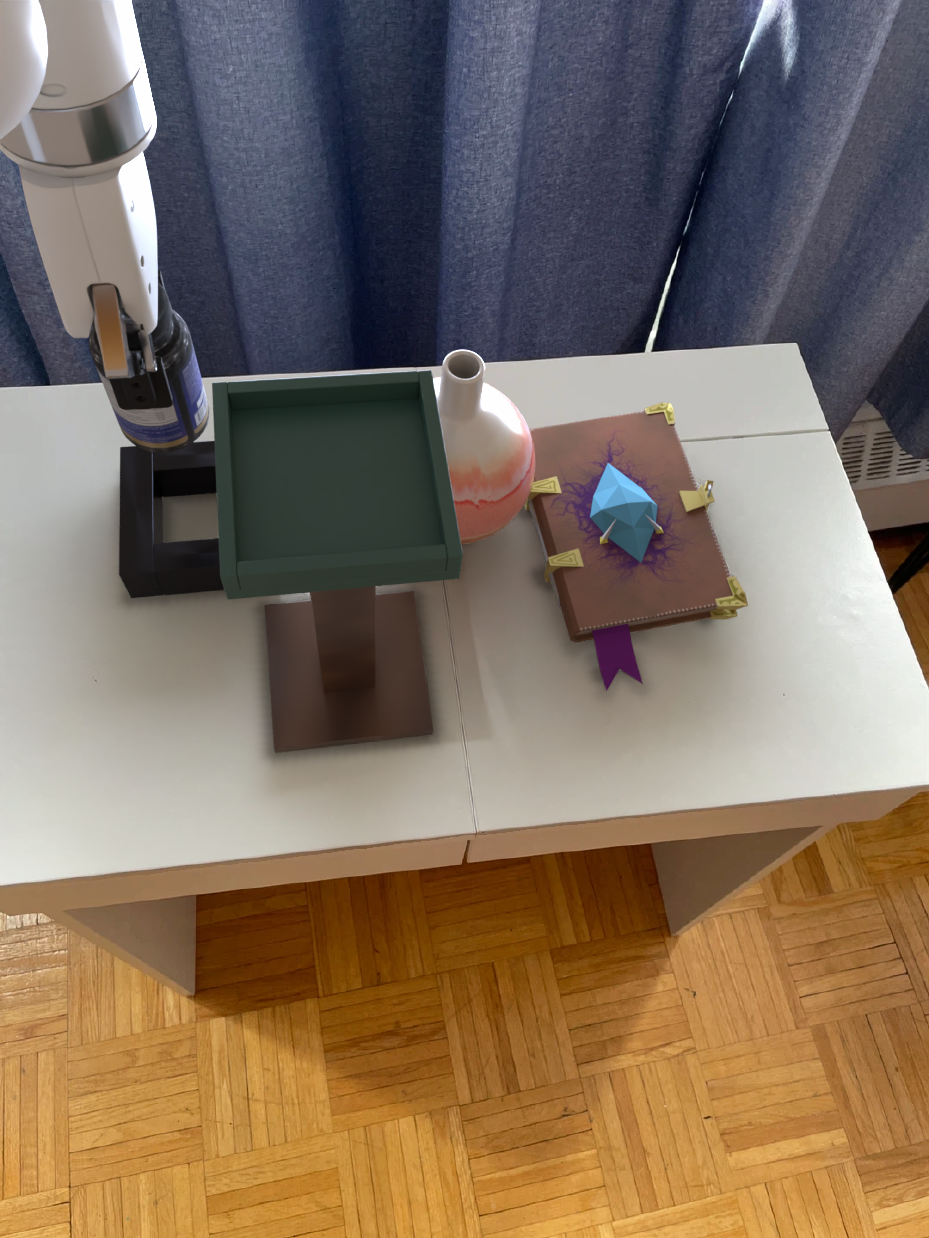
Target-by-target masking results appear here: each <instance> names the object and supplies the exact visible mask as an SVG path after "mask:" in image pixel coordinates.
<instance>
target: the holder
mask: <svg viewBox="0 0 929 1238" xmlns="http://www.w3.org/2000/svg"><path fill="white" fill-rule="evenodd" d="M213 494H214V495H215V494H217V489H216V465H215V442H214V440H203V441H194V442H193V443H191V444H189V445H188V446H186V447H185V448H182V449H180V450H177V451H173V452H167V453H156V452H150V451H147V450H143V449H141V448H139V447H137V446H135V445H129V446H120V447H119V514H118V515H119V516H118V517H119V520H118V521H119V522H118V523H119V525H118V529H119V531H118V576H119V578H120V580H121V582H122V583H123V586H124V588H125V589H126V591H127V593H128V595H129V597H130V599H141V598H152V597H162V596H174V595H185V594H186V595H187V594H196V593H197V594H198V593H209V592H219V591H225V590H224V587H223V584H222V581H221V577H220V559H219V537H213V538H202V539H201V538H200V539H190V540H189V539H188V540H177V541H176V540H175V541H165V542H164V498H173V497H174V498H175V497H186V496H187V497H188V496H199V495H213Z"/></svg>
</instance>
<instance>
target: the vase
mask: <svg viewBox="0 0 929 1238" xmlns="http://www.w3.org/2000/svg"><path fill="white" fill-rule="evenodd" d="M485 376H486V365H485V362H484V360H483V358H482V357H481V356H480V355H479V354H477V353H476V352H474V351H473V350H472V351H471V350H469V349H457V350H453V351H451V352H449V353H448V354H447V355H446V356H445V357H444V360H443V361H442V365H441V372H440V376H436V377H433V380H434V385H435V391H436V397H437V403H438V409H439V415H440V421H441V427H442V433H443V439H444V445H445V451H446V457H447V463H448V468H449V474H450V480H451V486H452V492H453V498H454V504H455V510H456V516H457V522H458V528H459V534H460V540H461V546H462V545H469V544H473V543H477V542H480V541H484V540H485V539H488V538H489V537H492V536H495V535H496V534H497V533H498V532H499V533H500V531H503V530H504V529H505V528H506V527H507V526H508V525H509V524H510V523H511V522H512V521H513V520H514V519H516V517H517V516H518V515H519V513H520V512H521V510H522V509H523V507H525V506H524V504H525V502H526V500H527V498H528V496H529V494H530V491H531V488H532V484H533V481H534V474H535V450H534V444H533V440H532V436H531V433H530V430H529V429H530V427H529V426H528V423H527V421H526V419H525V417H524V416H523V414H522V413H521V412H520V410H519V409H518V407H517V406H516V404H514V403H513V401H511V400H510V398H509V397H508V396H506V395H505V394H504V393H502V392H501V391H500V390H498V389H497V388H496V387H493V386H492V385H490V384H488V383H486V382H485V378H486V377H485Z"/></svg>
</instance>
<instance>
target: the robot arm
mask: <svg viewBox="0 0 929 1238" xmlns="http://www.w3.org/2000/svg"><path fill="white" fill-rule="evenodd" d="M147 72H148V71H147V68H146V63H145V59H144V54H143V50H142V46H141V41H140V35H139V31H138V27H137V21H136V18H135V13H134V7H133V3H132V0H0V151H1V152H2V153H3V155H5V157H7V158H8V159H10V160H11V161H12V162H14V163H15V164H16V165H18V169H19V175H20V181H21V185H22V190H23V195H24V199H25V202H26V207H27V212H28V215H29V219H30V223H31V227H32V230H33V234H34V237H35V240H36V244H37V247H38V251H39V254H40V257H41V259H42V264H43V267H44V270H45V273H46V276H47V279H48V282H49V285H50V288H51V291H52V294H53V297H54V300H55V303H56V306H57V309H58V313H59V315H60V318H61V321H62V324H63V327H64V330H65V331H66V333H68V335H69V336H71V337H72V338H73V339H89V337H90V333H91V330H92V322H93V320H94V325H95V329H96V333H97V337H98V342H99V346H100V350H101V354H102V358H103V365H104V371H105V375H106V378H107V379H109V381H110V383H111V386H112V389H113V392H114V395H115V397H116V400H117V403H118V406H119V407H120V408H121V409H123V410H136V409H137V410H145V409H154V408H169V407H171V406H172V405H173V402H172V394H171V390H170V386H169V383H168V379H167V375H166V372H165V368H164V365H163V361H162V357H158V356H155V351H154V346H153V341H152V336H151V332H152V331H153V330H154V329H155V328H156V326H157V320H158V283H159V284H160V285H161V286H162V287H163V288H164V289H165V290H166V288H165V284H164V279H163V275H162V271H161V269H159V265H158V263H159V262H158V261H159V260H158V229H157V217H156V210H155V203H154V197H153V192H152V187H151V181H150V178H149V172H148V169H147V164H146V159H145V156H144V151H146V149H147V148H148V147H149V146H150V143H151V142H152V141H153V139H154V137H155V134H156V131H157V124H158V123H157V113H156V110H155V105H154V101H153V97H152V91H151V87H150V82H149V78H148V73H147ZM123 308H124V310H125V312H126V313H127V314H128V315H124V314H123ZM137 332H138V335H139V339H140V344H141V349H142V351H129V347H128V341H127V334H126V333H137Z"/></svg>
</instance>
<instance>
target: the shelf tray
mask: <svg viewBox="0 0 929 1238" xmlns="http://www.w3.org/2000/svg"><path fill="white" fill-rule="evenodd" d="M433 378H434V374H433V371H432V369H425V370H423V369H421V370H404V371H403V370H402V371H387V372H385V371H384V372H370V373H354V374H353V373H352V374H338V375H337V374H335V375H320V376H304V377H285V378H270V379H269V378H267V379H253V380H236V381H215V382H212V383H211V392H212V394H211V395H212V414H213V438H214V440H213V441H214V442H215V465H216V489H217V493H216V507H217V508H216V509H217V533H218V535H217V536H218V538H219V559H220V577H221V581H222V584H223V587H224V590H223V591H224V593H225V596H226V599H227V600H228V601H229V600H241V599H253V598H264V597H265V598H266V597H274V596H283V595H284V596H286V595H297V594H307V593H309V594H310V592H320V591H331V590H342V589H353V588H364V587H375V586H376V587H384V586H385V587H386V586H395V585H406V584H417V583H418V584H419V583H428V582H429V583H430V582H439V581H451V580H459V579H460V577H461V573H462V572H461V571H462V565H463V558H464V553H463V546H462V545H461V540H460V534H459V528H458V522H457V516H456V510H455V504H454V498H453V492H452V486H451V480H450V474H449V468H448V463H447V457H446V451H445V445H444V439H443V433H442V427H441V421H440V415H439V409H438V403H437V397H436V391H435V385H434V380H433Z"/></svg>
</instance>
